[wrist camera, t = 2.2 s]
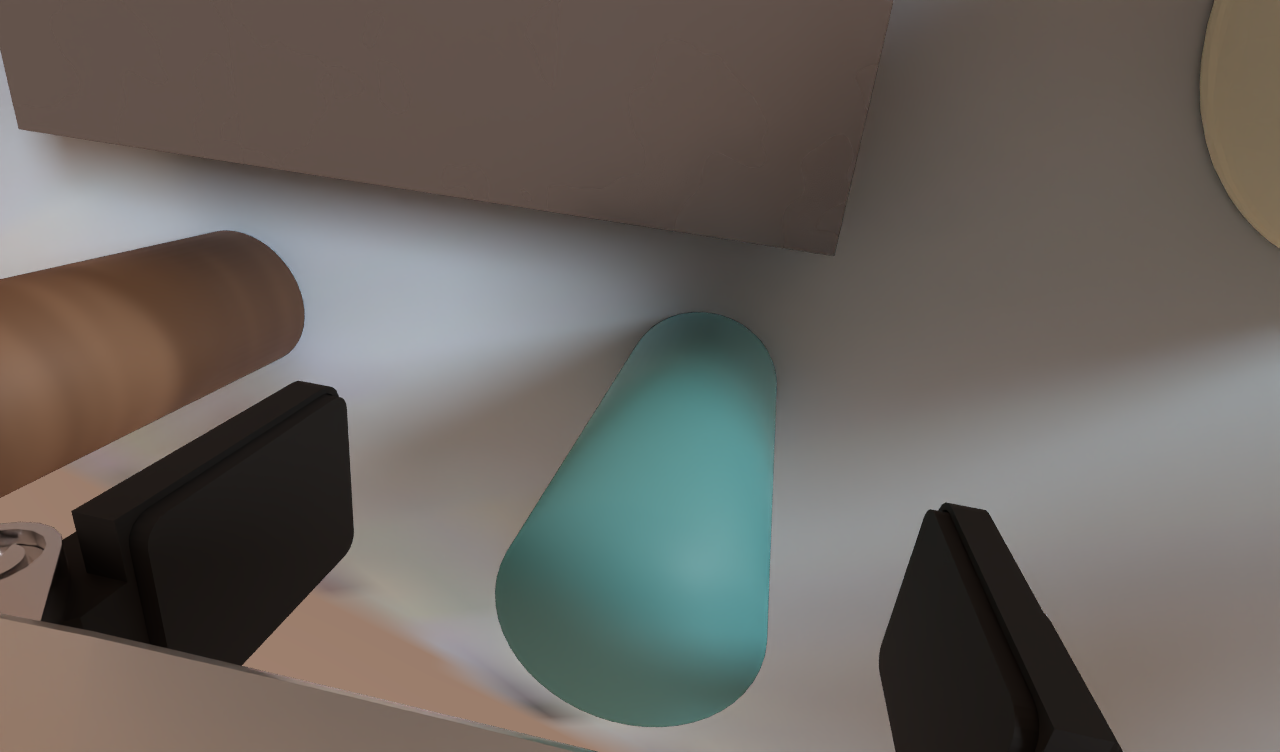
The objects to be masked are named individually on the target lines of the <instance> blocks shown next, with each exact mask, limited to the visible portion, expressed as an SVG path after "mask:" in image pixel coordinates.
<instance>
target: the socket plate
mask: <svg viewBox="0 0 1280 752" xmlns="http://www.w3.org/2000/svg"><path fill="white" fill-rule="evenodd" d="M892 5H893V0H0V50H1V54H2V59H3V63H4V67H5V72H6V76H7V80H8V85H9V89H10V93H11V98H12V102H13V106H14V110H15V115H16V119H17V123H18V128H19V129H22V130H28V131H35V132H41V133H48V134H54V135H60V136H67V137H73V138H80V139H86V140H92V141H99V142H105V143H112V144H118V145H125V146H131V147H137V148H144V149H150V150H157V151H163V152H169V153H176V154H182V155H189V156H195V157H202V158H208V159H214V160H221V161H227V162H234V163H240V164H246V165H253V166H259V167H266V168H272V169H279V170H285V171H291V172H298V173H304V174H311V175H317V176H323V177H330V178H336V179H343V180H349V181H356V182H362V183H368V184H375V185H381V186H388V187H394V188H400V189H407V190H413V191H420V192H426V193H433V194H439V195H445V196H452V197H458V198H465V199H471V200H478V201H484V202H490V203H497V204H503V205H510V206H516V207H522V208H529V209H535V210H542V211H548V212H555V213H561V214H567V215H574V216H580V217H587V218H593V219H599V220H606V221H612V222H619V223H625V224H632V225H638V226H644V227H651V228H657V229H664V230H670V231H676V232H683V233H689V234H696V235H702V236H709V237H715V238H721V239H728V240H734V241H741V242H747V243H753V244H760V245H766V246H773V247H779V248H786V249H792V250H798V251H805V252H811V253H818V254H824V255H830V256H834V255H835V250H836V246H837V242H838V237H839V233H840V229H841V224H842V220H843V216H844V211H845V207H846V203H847V199H848V194H849V190H850V186H851V181H852V177H853V173H854V168H855V164H856V160H857V155H858V151H859V147H860V143H861V138H862V134H863V130H864V125H865V121H866V117H867V112H868V108H869V104H870V99H871V95H872V91H873V87H874V82H875V78H876V74H877V69H878V65H879V61H880V56H881V52H882V48H883V43H884V39H885V35H886V31H887V26H888V22H889V18H890V13H891V9H892Z"/></svg>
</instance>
